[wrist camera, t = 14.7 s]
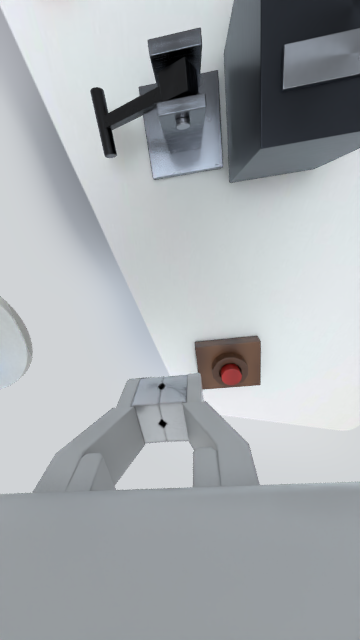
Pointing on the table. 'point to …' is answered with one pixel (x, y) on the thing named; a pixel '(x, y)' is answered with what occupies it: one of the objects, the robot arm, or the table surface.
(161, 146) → the lever bracket
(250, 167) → the toaster
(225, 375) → the button
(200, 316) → the table surface
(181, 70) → the lever
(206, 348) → the brown button base
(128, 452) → the robot arm
